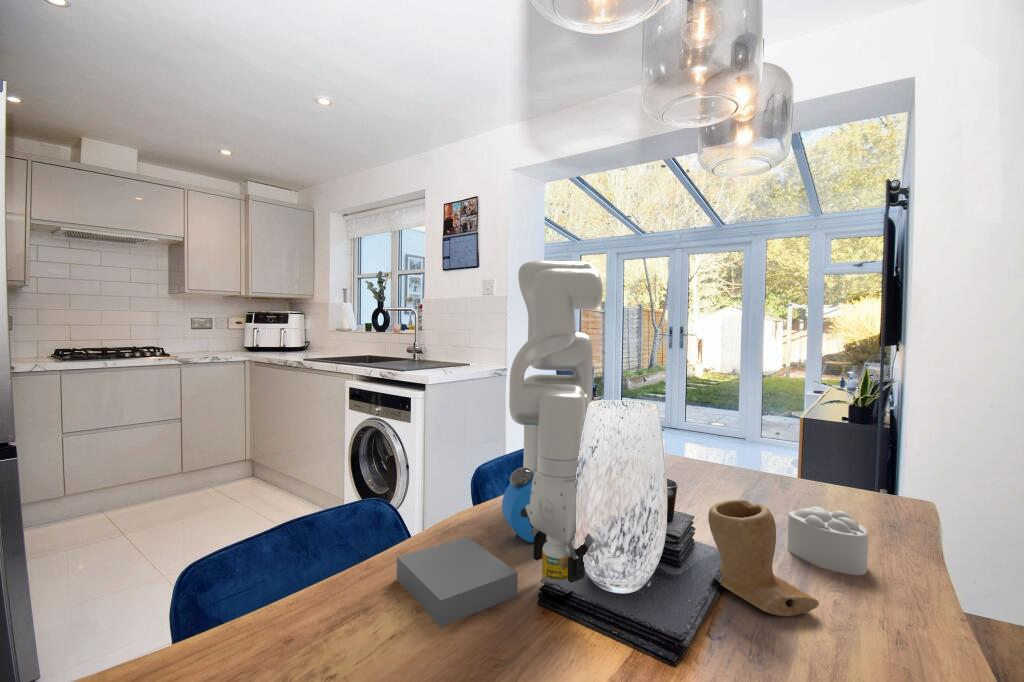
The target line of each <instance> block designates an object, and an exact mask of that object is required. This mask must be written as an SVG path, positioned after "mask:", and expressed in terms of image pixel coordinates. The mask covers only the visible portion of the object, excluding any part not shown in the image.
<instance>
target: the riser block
mask: <svg viewBox="0 0 1024 682" xmlns="http://www.w3.org/2000/svg"><path fill="white" fill-rule="evenodd" d="M518 574H519V573H518V571H517V570H516V569H513V568H512V566H510V565H508V564H507V563H505V562H504V561H502V560H501V559H500V558H498V557H497V556H496V555H494V554H492V553H491V552H490V551H488V550H487V549H485V548H484V547H483V546H481V545H480V544H478V543H477V542H475V541H474V540H472V538H470V537H469V536H464V537H461V538H457V539H453V540H450V541H446V542H443V543H439V544H436V545H435V544H434V545H433V546H430V547H426V548H422V549H419V550H415V551H412V552H409V553H405V554H402V555H397V556H396V581H398V582H399V584H400V585H401V586H402V587H403V588H404V589H405V590H406V591H407V593H409V595H410V596H411V597H412V598H413V599H414V600H415V601H416V602H417V603H418V605H419V606H420V607H422V609H423V610H424V611H425V612H426V613H427V614H428V616H430V617H431V618H432V620H433V619H434V620H433V621H434V622H435V621H436V622H435V623H436V624H437V625H438V626H439V627H440V628H442V627H445V626H447V625H450V624H452V623H454V622H457V621H460V620H463V619H465V618H467V617H469V616H472V615H474V614H477V613H479V612H483V611H485V610H486V609H489V608H492V607H494V606H497V605H499V604H500V605H501V604H502V603H504V602H507V601H510V600H512V599H513V598H517V597H518V587H519V586H518V583H519V581H518V579H519V575H518Z"/></svg>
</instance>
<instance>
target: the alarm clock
mask: <svg viewBox="0 0 1024 682" xmlns="http://www.w3.org/2000/svg"><path fill="white" fill-rule="evenodd" d="M535 470H536V469H534V471H531V470H530V469H528V468H525V467H519V468H517V469H515V470H514V471H513V472H512V473H511V475H510V478H509V482H510V483H509V484H508V486H507V487H506V489H505V491H504V493H503V497H502V502H501V512H502V514H503V518H504V519H505V522H506V523H507V525H508V526H509V527H510V529H512V531H514V532H515V537H518V536H519V537H520V538H521V539H522V540H524V541H525V542H528V543H533V544H534V537H535V536H533V535H532V533H531V531H532V527H531V525H530V523H529V517H528V514H527V511H526V505H528V504H530V498H531V488H532V482H533V477H534V473H535Z"/></svg>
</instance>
